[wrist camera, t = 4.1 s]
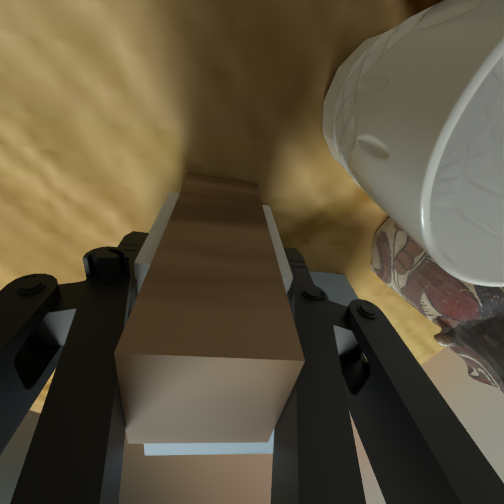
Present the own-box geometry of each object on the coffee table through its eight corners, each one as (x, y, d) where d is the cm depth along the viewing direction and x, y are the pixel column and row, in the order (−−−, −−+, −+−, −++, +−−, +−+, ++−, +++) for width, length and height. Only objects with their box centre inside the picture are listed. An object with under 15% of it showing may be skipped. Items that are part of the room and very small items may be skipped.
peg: (188, 173, 15) (114, 353, 5) (256, 183, 16) (304, 360, 6) (185, 233, 17) (128, 443, 7) (245, 240, 18) (267, 442, 8)
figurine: (347, 256, 20) (474, 445, 10) (428, 176, 17) (737, 326, 7) (407, 293, 22) (555, 472, 12) (486, 229, 19) (769, 395, 9)
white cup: (280, 134, 15) (353, 210, 6) (389, -37, 11) (861, -368, 3) (377, 203, 17) (517, 319, 9) (488, 82, 14) (875, 89, 6)
